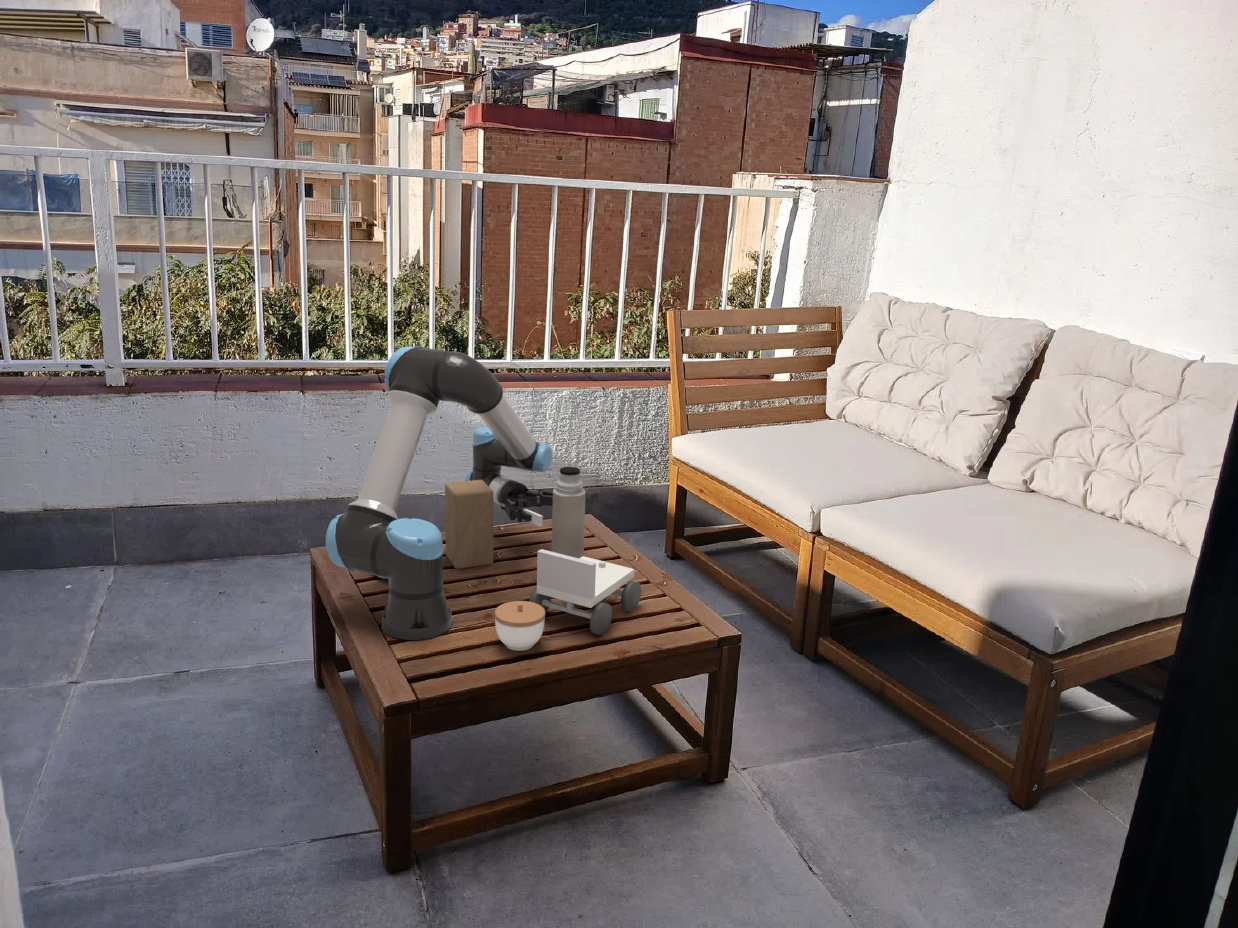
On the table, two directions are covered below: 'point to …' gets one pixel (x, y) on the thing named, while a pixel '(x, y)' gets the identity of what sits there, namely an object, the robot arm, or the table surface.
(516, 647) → the lidded jar
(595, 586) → the trolley
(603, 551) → the table surface
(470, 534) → the wooden block
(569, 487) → the thermos bottle
